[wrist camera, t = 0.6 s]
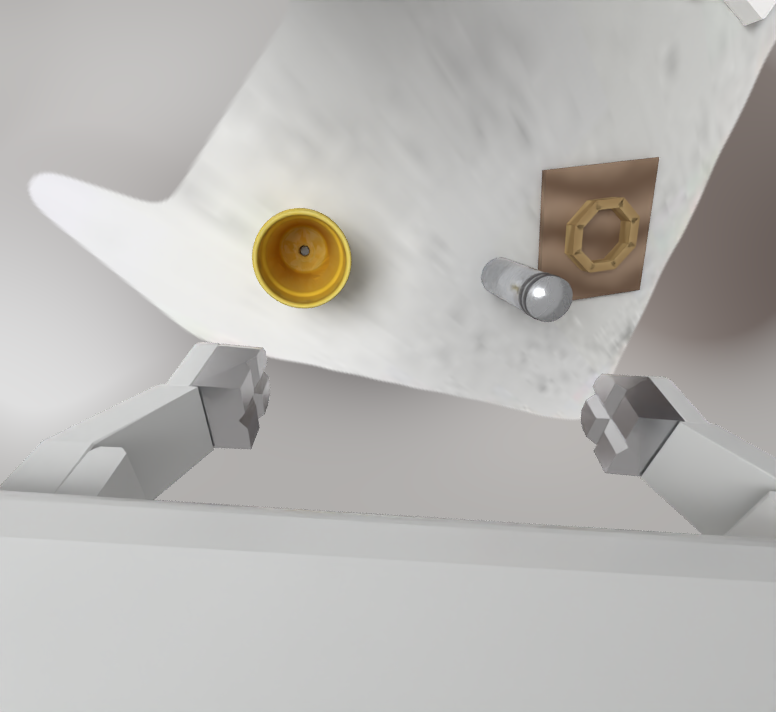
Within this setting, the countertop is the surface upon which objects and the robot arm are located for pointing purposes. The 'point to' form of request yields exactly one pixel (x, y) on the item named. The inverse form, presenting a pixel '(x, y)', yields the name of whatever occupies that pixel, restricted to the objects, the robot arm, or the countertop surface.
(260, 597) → the robot arm
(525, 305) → the piston
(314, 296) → the plant pot
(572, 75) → the countertop surface
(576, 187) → the ring stand
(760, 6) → the holder
